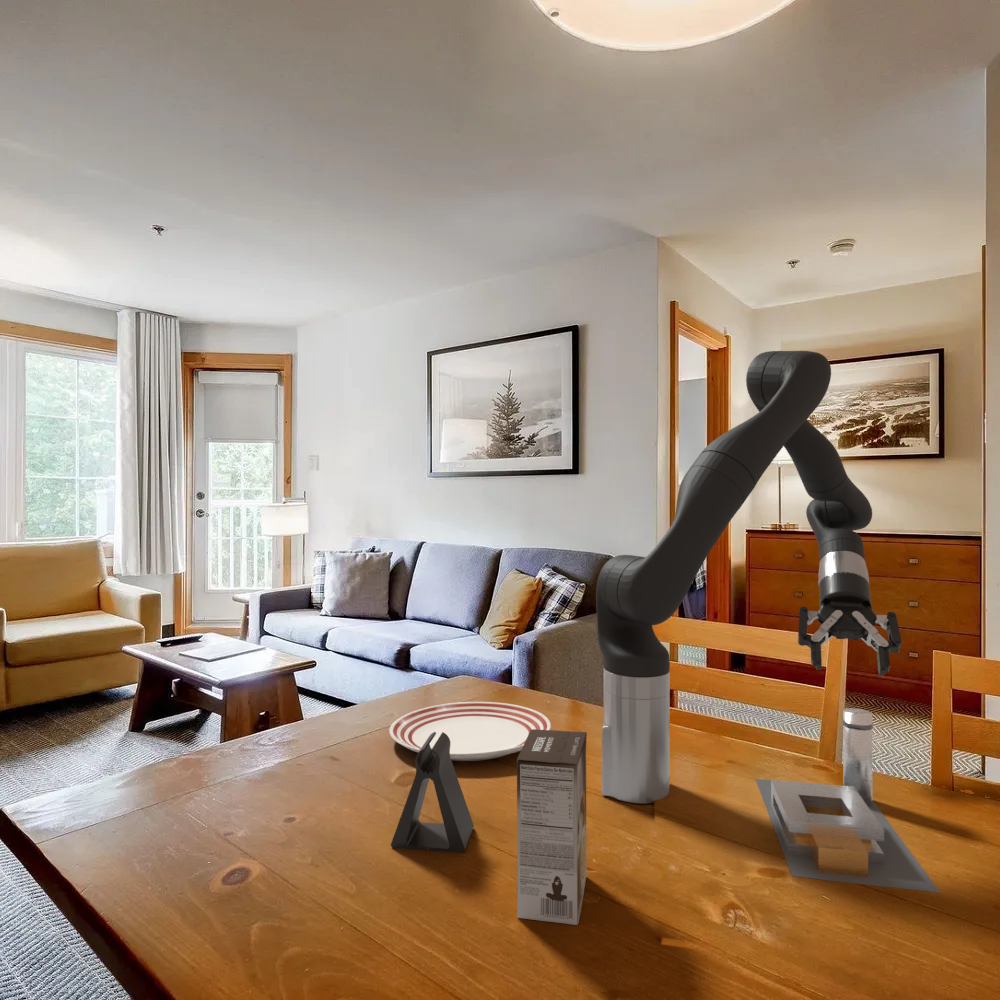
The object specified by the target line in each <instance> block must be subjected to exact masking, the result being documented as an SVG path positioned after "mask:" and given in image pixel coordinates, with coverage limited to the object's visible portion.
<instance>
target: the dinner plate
mask: <svg viewBox="0 0 1000 1000" xmlns="http://www.w3.org/2000/svg"><path fill="white" fill-rule="evenodd" d="M532 729H536V730H552V723H551V721H550V718H548V717H547V716H546V715H544V714H543V713H542V712H540V711H537V710H535V709H532V708H530V707H526V706H521V705H518V704H512V703H505V702H494V701H462V702H461V701H460V702H459V701H458V702H450V703H448V702H447V703H442V704H436V705H431V706H427V707H423V708H419V709H416V710H413V711H410V712H408V713H406V714H404V715H402V716H400V717H398V718H397V719H396V720H394V721H393V722H392V724H391V725H390V727H389V730H388V732H389V735H390V737H391V738H392V739H393V740H394V741H395V742H396V743H397V744H399V745H401V746H403V747H405V748H406V749H408V750H411V751H412V752H416V753H418V752H419V751H420V749H421V748H422V746H423V745H424V743H425V742H426V740H427V739H428V737H429V736H430V735H431V734H432V733H433V732H436V735H435V736H434V738H433V739H432V741H431V742H430V747H431V749H432V748H433V746H434V745H435V743H436V742H437V740H438V738H439V737H440V735H441V734H442V732H443V733H445V734H446V735H447V736H448V737H449V739H450V758H451V761H457V762H477V761H488V760H493V759H497V758H501V757H504V756H508V755H510V754H511V755H512V754H515V753H518V752H521V750H522V748H523V746H524V743H525V741H526V739H527V737H528V735H529V733H530V730H532Z"/></svg>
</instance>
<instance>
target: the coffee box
mask: <svg viewBox="0 0 1000 1000" xmlns="http://www.w3.org/2000/svg"><path fill="white" fill-rule="evenodd" d="M587 735H588V733H587V732H586V731H568V730H554V729H550V730H536V729H532V730H530V733H529V735H528V737H527V739H526V741H525V743H524V746H523V748H522V750H521V751H519V754H518V756H517V758H516V877H517V878H516V910H517V911H516V913H517V914H516V916H517V918H519V919H524V920H525V919H526V920H534V921H539V922H549V923H557V924H565V925H573V926H578V925H579V922H580V918H581V913H582V906H583V899H584V895H585V894H584V893H585V887H586V882H587V881H586V880H587Z"/></svg>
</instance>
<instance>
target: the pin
mask: <svg viewBox="0 0 1000 1000" xmlns="http://www.w3.org/2000/svg"><path fill="white" fill-rule="evenodd" d="M842 716H843V717H842V734H843V735H842V743H843V744H842V747H843V748H842V754H843V755H842V759H843V761H842V764H843V765H842V767H843V769H842V770H843V771H842V772H843V773H842V774H843V775H842V784H843V785H842V786H851V787H854V788H855V789H856V791H857V792H858V793H859V795H860V796H861V798H862V799H863V800H864V802H865V803H866V805H867V806H870V805H872V800H873V728H874V724H873V712H870V711H869V710H865V709H861V708H853V707H852V708H851V707H850V708H844V709H843V711H842Z"/></svg>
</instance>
